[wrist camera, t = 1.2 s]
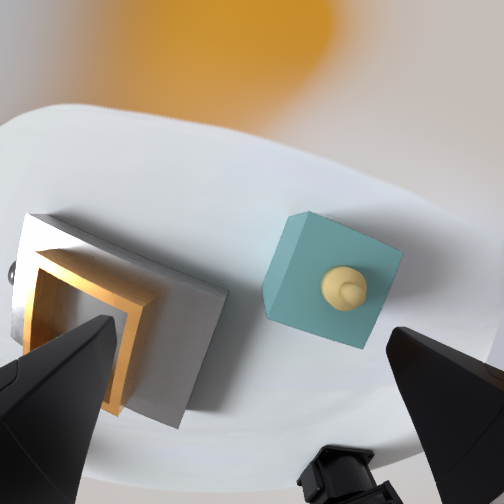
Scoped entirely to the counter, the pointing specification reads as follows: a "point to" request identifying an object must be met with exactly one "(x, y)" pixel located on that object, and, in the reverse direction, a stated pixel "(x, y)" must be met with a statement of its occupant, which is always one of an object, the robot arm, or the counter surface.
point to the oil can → (328, 279)
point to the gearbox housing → (116, 313)
